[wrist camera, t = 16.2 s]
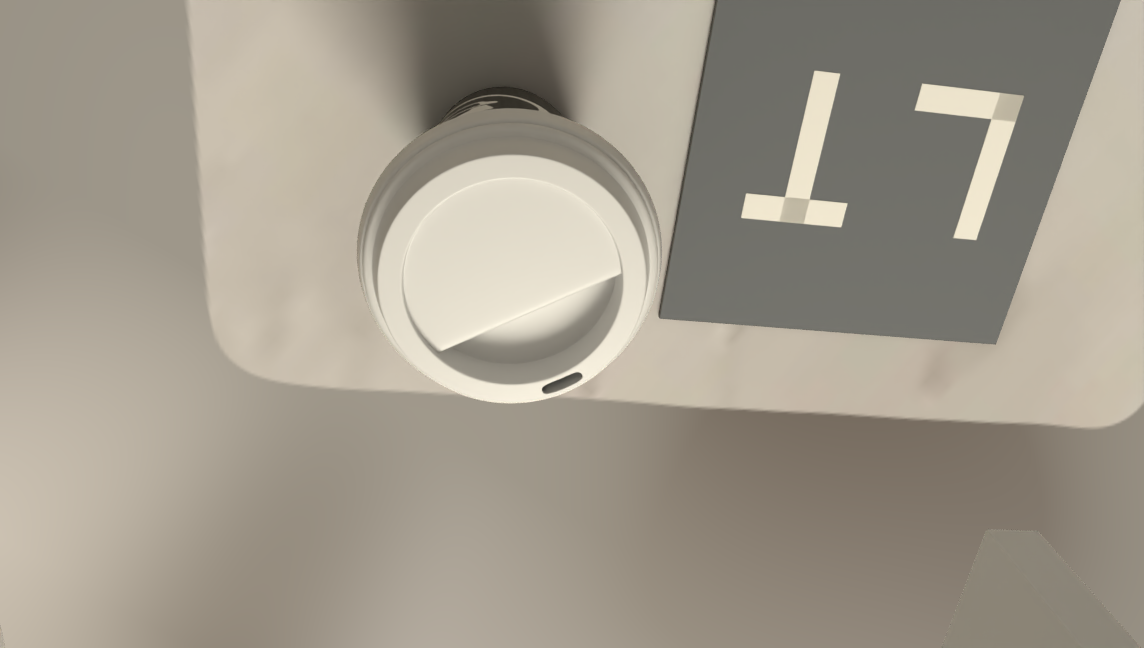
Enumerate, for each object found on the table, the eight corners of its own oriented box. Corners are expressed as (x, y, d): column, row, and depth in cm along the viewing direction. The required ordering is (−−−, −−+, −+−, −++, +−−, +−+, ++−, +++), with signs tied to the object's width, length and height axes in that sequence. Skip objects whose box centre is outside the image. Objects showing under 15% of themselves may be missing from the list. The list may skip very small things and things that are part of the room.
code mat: (730, -81, 35) (732, -82, 35) (1125, -25, 38) (1130, -25, 37) (658, 316, 43) (660, 318, 42) (992, 341, 45) (996, 344, 45)
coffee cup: (407, 264, 40) (367, 435, 27) (385, 53, 36) (325, 129, 23) (608, 254, 41) (669, 417, 28) (609, 46, 37) (680, 117, 24)
